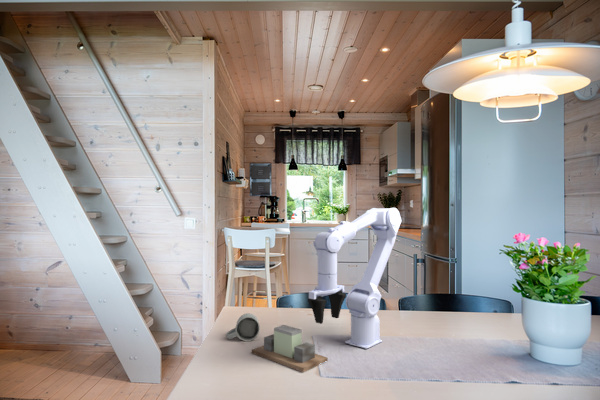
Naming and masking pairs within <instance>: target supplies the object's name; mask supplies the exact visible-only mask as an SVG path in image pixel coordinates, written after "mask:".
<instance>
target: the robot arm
mask: <svg viewBox="0 0 600 400" xmlns="http://www.w3.org/2000/svg"><path fill="white" fill-rule="evenodd" d="M401 223H402V217H401V214H400V211H399V210H398V208H396V207H390V208H387V207H386V208H385V207H384V208H383V207H382V208H376V207H372V208H370V209H368V210H366V211H365V212H364V213H363V214H361V215H360V216H359V217H357V218H356V219H354V220H352V221H347V220H341V221H339V224H338V225H336V226H334V227H330V228H328V230H327V231H322V232H318V234H316V236H315V238H314V241H313V243H312V244H313V247H314V249H315V251H316V255H317V286H315V289H313V290H309V291H308V297H307V302H308V304H309V305H310V307H311V309H312V313H313V316H314V321H315V323H317V324H321V325H322V324H323V322H324V314H325V307H326V304H327V302H328V300H329V303H330V314H331V318H333V319H339V317H340V313H341V309H342V307H343V303H344V302H345V305H346V308H347V310H348V313H349V314H350V338H349V339H347V340H345V341H344V343H345V344H348V345H351V346H353V347H354V346H355V347H358V348H360V349H361V348H362V349H369V348H371V347H374V346H376V345H379V344H381V343H382V342H383V340H382V339H381V338H380V337H381V336H380V333H381V330H380V327H381V324H380V322H381V321H380V318H379V315H377V314H378V312H379V310H380V305H381V304H380V303H381V299H382V294H381V292H380V290H379V289H378V287H379V285H380V282H381V279H382V278H383V277H382V276H383V274H384V272H385V268H386V266H387V265H388V261H389V259H390V256H391V253H392V251H393V248H394V245H395V242H396V240H397V239H396V238H397V234H398V231H399V229H400V225H401ZM369 226H370V228H371V230H372V232H373V234H374V235H375V236H376V237H377V241H376V243H375V246H374V248H373V249H372V252H371V255H370V258H369V261H368V263H367V265H366V268H365V270H364V272H363V275H362V277H361V281H359V282H357V283H356V284H354V285H353V286H352V287H351V290H350V291H349V292H348V293H345V291H346V290H345V284H344V285H342V284H338V253H339V251H340V250H341V248H342V246H343V245H345V244H346V243H347V242H350V241H351V240H353V239H354V238H356V234H357V232H359V231H362V230H364V229H366V228H368V227H369ZM325 296H328V300H327V299H323V297H325Z"/></svg>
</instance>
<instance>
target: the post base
mask: <svg viewBox="0 0 600 400" xmlns="http://www.w3.org/2000/svg"><path fill="white" fill-rule="evenodd" d="M315 350H316V346H315V344H314V343H310V342H304V343H303V342H302V344H301V345H298V346H295V347H294V357H293V358H290V357H287V356H284V355H281V354H278V353H275V352H274V333H273V334H270V335H267V336H264V337H263V345H261V346H258V347H256V348H252V349H251V354H252V355H256V356H259V357H261V358H263V359H264V358H265V359H267V360H268V361H269V360H270V361H272V362H275V363H278V364H280V365H283V366H285V367H288V368H291V369H294V370H296V371H299V372H301V373H304V372H307V371H309V370H311V369H313V368H315V367H319V366H320V365H321V364H320V363H323V362H325V361H327V362H328V357H327V356H324V355H320V354H318V353H315V352H316V351H315ZM325 363H326V362H325ZM319 364H320V365H319ZM323 364H324V363H323Z"/></svg>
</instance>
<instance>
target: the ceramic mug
mask: <svg viewBox="0 0 600 400" xmlns="http://www.w3.org/2000/svg"><path fill="white" fill-rule="evenodd" d="M260 328H261V327H260V323H259V319H258V317H257V316H256V315H255V314H253V313H248V312H247V313H244V314H242V315H241V316H239V317H238V319H237V321H236V324H235V327H234V328H232V329H231V330H228V332H226V334H225V335H226V338H227V340H232V339H234V338H236V337H237V338H238V339H239V340H241V341H243V342H251V341H253V340H255V339H256V338H257V337H258V335H259V334H260Z"/></svg>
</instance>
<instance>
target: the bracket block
mask: <svg viewBox="0 0 600 400" xmlns="http://www.w3.org/2000/svg"><path fill="white" fill-rule="evenodd" d="M302 330H303V329H300V328H298V327H293V326H289V325H286V324H282V325H279V326H278V325H277V326H275V327H274V328H273V334H274V352H275V353H278V354H281V355H284V356H287V357H290V358H293V357H294V347H295V346H298V345H301V344H303V341H302V339H303V338H302V335H303V333H302Z"/></svg>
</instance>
